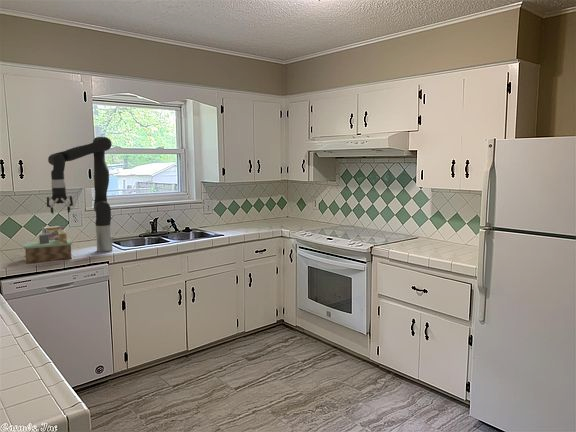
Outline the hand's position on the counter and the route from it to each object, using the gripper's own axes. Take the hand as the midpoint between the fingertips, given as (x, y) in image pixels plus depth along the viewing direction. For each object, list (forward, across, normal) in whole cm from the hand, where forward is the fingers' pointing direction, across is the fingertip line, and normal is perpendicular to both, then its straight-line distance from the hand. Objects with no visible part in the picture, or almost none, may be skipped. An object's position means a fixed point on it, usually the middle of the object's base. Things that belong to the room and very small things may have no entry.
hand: (60, 213), depth 275 cm
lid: (+19, +8, 0) cm, 20 cm away
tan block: (+18, 0, 0) cm, 18 cm away
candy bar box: (+28, +5, -25) cm, 38 cm away
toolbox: (+28, +8, 0) cm, 29 cm away
